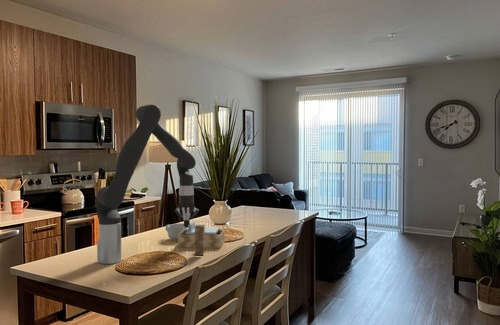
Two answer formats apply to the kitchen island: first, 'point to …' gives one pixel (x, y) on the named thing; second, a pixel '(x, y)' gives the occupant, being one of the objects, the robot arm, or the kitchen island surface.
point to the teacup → (174, 230)
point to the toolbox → (210, 239)
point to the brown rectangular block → (199, 239)
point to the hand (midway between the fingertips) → (186, 227)
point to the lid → (207, 229)
